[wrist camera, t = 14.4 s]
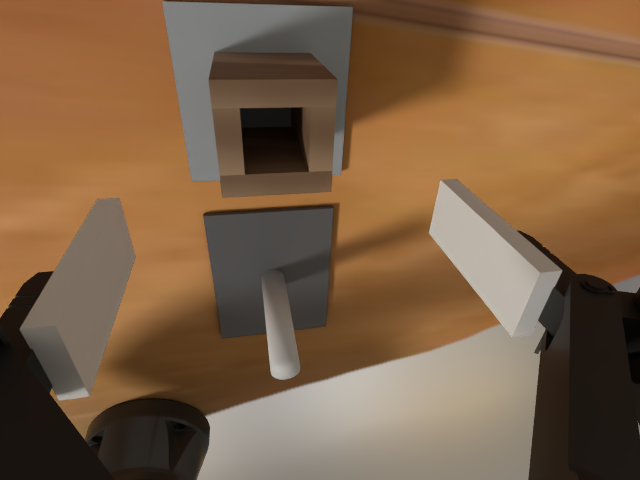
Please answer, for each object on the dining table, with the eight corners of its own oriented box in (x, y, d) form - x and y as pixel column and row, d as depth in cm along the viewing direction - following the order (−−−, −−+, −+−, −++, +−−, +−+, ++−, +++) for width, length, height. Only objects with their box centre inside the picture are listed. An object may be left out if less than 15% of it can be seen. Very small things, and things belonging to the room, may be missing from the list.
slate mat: (339, 171, 36) (341, 174, 35) (192, 178, 33) (191, 181, 33) (350, 6, 28) (353, 7, 28) (163, 0, 26) (162, 1, 26)
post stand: (325, 323, 46) (350, 415, 37) (222, 335, 44) (219, 436, 35) (332, 205, 37) (367, 286, 28) (203, 213, 35) (193, 304, 26)
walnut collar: (309, 143, 33) (331, 191, 26) (224, 146, 32) (222, 197, 24) (310, 53, 29) (337, 79, 22) (214, 52, 28) (208, 79, 20)
